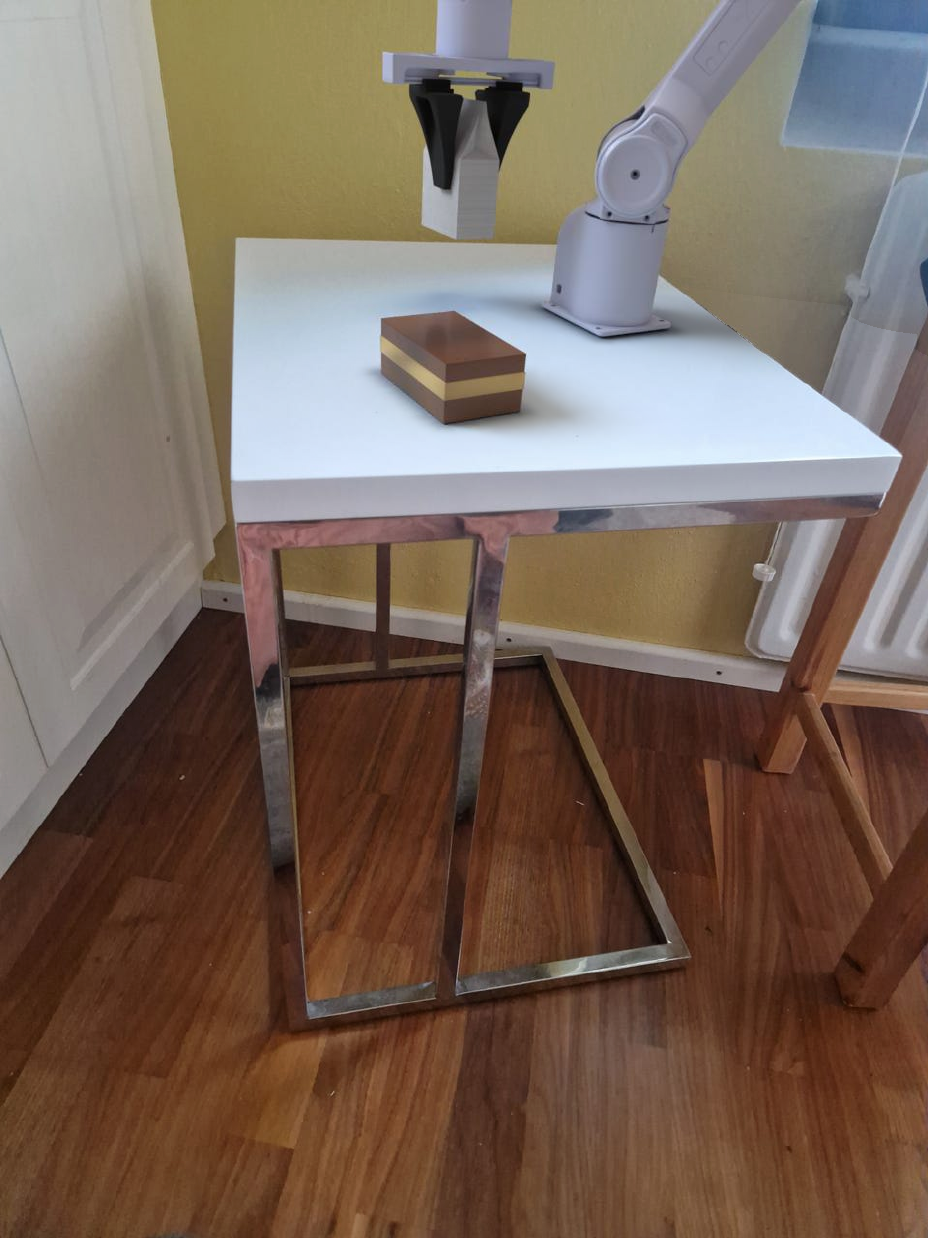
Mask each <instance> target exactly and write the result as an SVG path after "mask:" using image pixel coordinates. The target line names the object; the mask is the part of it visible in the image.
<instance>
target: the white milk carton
mask: <svg viewBox="0 0 928 1238" xmlns="http://www.w3.org/2000/svg"><path fill="white" fill-rule="evenodd" d="M463 98H464V100H463V104H462V108H461V112H460V117H459V121H458V127H457V133H456V140H455V151H454V172H453V179H452V185H451V190H443V189H441V188H438V187H436V186H434V184H433V176H432V170H431V164H430V158H429V153H428V149H427V145H426V144H425V146H424V148H423V151H422V152H423V154H422V155H423V156H422V157H423V159H422V190H421V191H422V193H421V196H422V197H421V226H423V227H425V228H427V229H430V230H432V231H435V232H437V233H439V234H441V235H443V236H446V237H448V238H451V239H454V240H456V241H457V240H458V241H459V240H461V241H462V240H488V239H494V238H495V228H496V227H495V226H496V214H497V212H496V211H497V200H498V199H497V198H498V185H499V174H500V171H499V157H498V154H497V150H496V147H495V143H494V139H493V136H492V132H491V129H490V124H489V119H488V114H487V105H486V102H484V101H478V100H476V99H471V98H465V97H463Z"/></svg>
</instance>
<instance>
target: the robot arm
mask: <svg viewBox="0 0 928 1238" xmlns="http://www.w3.org/2000/svg"><path fill="white" fill-rule="evenodd" d="M513 1H514V0H437V6H436V7H437V9H436V35H435V37H436V38H435V53H431V52H429V53H427V52H397V51H395V52H394V51H382V76H381V77H382V79H381V80H382V82H383V83H387V84H392V85H405V84H408V95H409V97H408V98H409V100H410V102H411V104H412V106H413V109H414V111H415V114H416V116H417V118H418V121H419V124H420V127H421V131H422V133H423V137H424V141H425V146H426V145H427V149H428V153H429V158H430V164H431V170H432V176H433V184H434V186H436V187H438V188H441V189H443V190H451V185H452V179H453V172H454V151H455V140H456V133H457V127H458V121H459V117H460V112H461V108H462V104H463V100H464V98H465V97H464V96H463V95H462V94H459V93H455V89H454V88H452V87H451V86H466V87H468V86H469V87H470V86H471V87H484V89H481V88H480V89H479V88H478V89H476V90H475V91H474V97H475V99H474V100H478V101H484V102H486V105H487V114H488V119H489V124H490V129H491V132H492V136H493V139H494V143H495V147H496V150H497V154H498V157H499V172H500V171H501V167H502V165H503V161H504V158H505V155H506V152H507V149H508V147H509V145H510V141H511V140H512V137H513V135H514V133H515V131H516V129H517V128H518V125H519V124H520V122H521V120H522V118H523V116H524V115H525V113H526V111H527V110H528V108H529V106H530V102H531V92H529V91H525V90H523V89H524V88H529V89H540V90H553V86H554V76H555V67H556V62H555V61H552V60H545V59H531V58H517V57H509V54H510V53H509V52H510V41H511V40H510V38H511V26H512V15H513ZM801 1H802V0H719V2H718V3H717V4H716V6H715V7H714V8H713V10H712V11H711V13H710V14H709V16H708V17H707V18H706V19H705V21H704V22H703V24H702V25H701V26H700V28H699V29H698V30H697V32H696V33H695V34H694V36H693V37H692V38H691V40H690V41H689V42H688V44H687V45H686V47H685V48H684V49H683V50H682V52H681V53H680V55H679V56H678V57H677V59H676V60H675V62H674V63H673V64H672V66H671V67H670V68H669V70H668V71H667V72H666V74H665V75H664V76H663V77H662V79H660V81H659V82H658V83H657V85H656V86H655V87H654V88H652V90H651V91H650V93H649V94H648V95H647V96H646V98H645V99H644V100H643V102H642V103H641V104H640V105H639V107H638V108H637V109H636V110H635V111H634V112H633V113H632V114H630V115H629V116H627V117H625V118H623V119H622V120H620V121H617V122H616V123H615V124H614V125H612V126H611V127H610V128H609V129H608V130H607V131H606V133H605V134H604V135H603V137H602V139H601V141H600V143H599V145H598V148H597V152H596V160H595V168H594V177H593V179H594V187H595V190H596V195H595V196H594V197H593V198H592V199H590V200H588V201H586V202H584V204H582V205H579V206H577V207H575V208H574V209H573V210H572V211H570V212H569V213H568V215H567V216H566V217H565V218H564V221H562V224H561V226H560V228H559V230H558V231H559V232H558V235H557V241H556V250H555V258H554V264H553V266H554V267H553V275H552V282H551V283H552V285H551V292H550V300H544V301H542V303H541V306H542V308H544V309H546V310H547V311H550V312H552V313H553V314H555V315H558V316H559V317H561V318H563V319H565V320H567V321H569V322H571V323H573V324H575V325H577V326H579V327H580V328H583V329H584V330H586V331H588V332H591V333H592V334H593V335H594V334H595V335H597V336H598V337H610V336H617V335H625V334H635V333H643V332H649V331H658V330H665V329H670V328H671V326H672V323H671V322H670V321H668V320H666V319H664V318H662V317H660V316H658V315H655V314H653V307H654V302H655V297H656V291H657V287H658V282H659V275H660V271H661V266H662V261H663V255H664V251H665V246H666V245H665V244H666V239H667V234H668V229H669V225H670V218H671V214H672V210H671V207H669V206H668V205H666V204H665V202H666V201H667V200H668V198H669V196H670V195H671V193H672V191H673V189H674V187H675V183H676V180H677V175H678V172H679V169H680V166H681V164H682V162H683V160H684V159H685V158H686V156H687V155H688V153H689V152H690V151H691V149H692V148H693V147H694V146H695V144H696V143H697V141H698V139H699V137H700V135H701V133H702V132H703V130H704V128H705V127H706V124H707V123H708V120H709V119H710V117H712V115H713V113H714V112H715V111H716V110H717V109H718V107H719V106H720V104H721V103H722V102H723V101H724V99H725V98H726V97H727V96H728V94H729V93H730V92H731V91H732V89H733V88H735V85H736V84H737V83H738V82H739V81H740V80H741V78H742V77H743V75H744V74H745V72H746V71H747V70H748V69H749V68H750V67H751V65H752V64H753V63H754V62H755V60H756V59H757V58H758V56H759V55H760V54H761V52H762V51H763V50H764V49H765V48H766V46H767V45H768V44H769V42H770V41H771V40H772V39H773V38H774V36H775V35H776V33H777V32H778V31H779V30H780V28H781V27H782V26H783V24H784V23H785V22H786V20H787V19H788V18H789V17H790V15H791V14H792V13H793V12H794V11H795V9H796V8H797V6H798V5H799V4H800V3H801ZM456 71H461V72H475V73H485V75H486V76H489V77H495V78H484V77H483V78H481V77H462V76H461V77H458V76H457V77H456V76H455V75H456ZM440 75H443V76H440ZM454 76H455V77H454Z"/></svg>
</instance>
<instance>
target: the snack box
mask: <svg viewBox="0 0 928 1238" xmlns="http://www.w3.org/2000/svg"><path fill="white" fill-rule="evenodd" d="M379 351H380V373H381V375H383V376H384V377H385V378H386V379H388V380H389V381H390V382H391V383H392V384H394V385H395V386H396V387H398V388H399V389H400V390H401V391H402V392H404V393H405V394H406V395H408V397H410V398H411V399H412V400H413V401H415V402H416V403H417V404H418V405H420V406H421V407H422V408H423V409H425V410H426V411H427V412H428V413H429V414H431V415H432V416H433V417H434V418H435V419H436V420H438V421H439V422H441V423H442V424H443V425H446V424H451V423H458V422H465V421H469V420H477V419H481V418H483V419H484V418H489V417H494V416H500V415H505V414H506V415H507V414H512V413H519V412H521V410H522V409H521V407H522V397H523V390H524V389H525V388H524V387H525V380H526V371H525V368H526V358H527V353H525V352H524V351H522V350H520V349H519V348H517V347H515V346H514V345H512V344H510V343H509V342H507V341H505V340H504V339H502V338H500V337H499V336H497V335H496V334H494V333H492V332H490V331H489V330H487V329H485V328H484V327H482V326H481V325H479V324H478V323H475V322H474V321H473V320H471V319H469V318H468V317H465V316H464V315H462V314H461V313H459V312H457V311H456V310H449V311H448V310H447V311H440V312H439V311H438V312H428V313H420V314H408V315H399V316H398V315H397V316H388V317H381V318H380V334H379Z"/></svg>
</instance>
